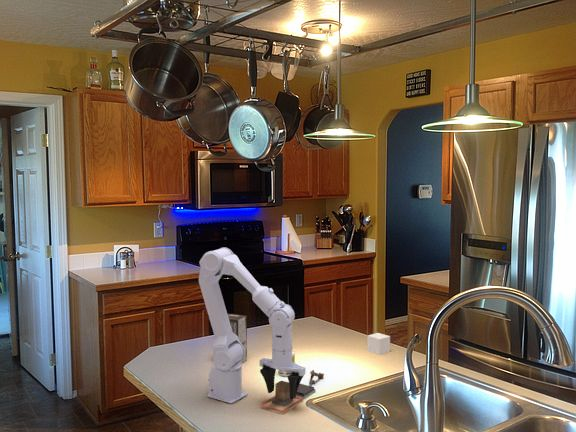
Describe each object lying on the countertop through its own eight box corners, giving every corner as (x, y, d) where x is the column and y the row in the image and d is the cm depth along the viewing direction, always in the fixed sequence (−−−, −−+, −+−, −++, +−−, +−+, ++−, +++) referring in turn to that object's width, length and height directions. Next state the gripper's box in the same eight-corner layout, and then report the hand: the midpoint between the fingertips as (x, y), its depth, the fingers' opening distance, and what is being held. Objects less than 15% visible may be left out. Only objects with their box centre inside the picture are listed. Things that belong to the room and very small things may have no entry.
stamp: (271, 403, 156) (271, 384, 155) (280, 397, 159) (280, 379, 159) (284, 406, 153) (284, 387, 153) (293, 401, 157) (293, 382, 156)
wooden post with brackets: (306, 383, 169) (308, 369, 171) (316, 386, 176) (319, 372, 177) (311, 384, 169) (314, 370, 170) (321, 387, 175) (324, 373, 176)
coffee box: (247, 360, 193) (247, 315, 192) (238, 365, 188) (238, 319, 186) (225, 356, 197) (225, 312, 196) (216, 361, 191) (216, 316, 190)
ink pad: (287, 394, 163) (287, 389, 163) (298, 387, 168) (298, 382, 168) (304, 399, 160) (304, 394, 160) (315, 391, 165) (315, 386, 165)
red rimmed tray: (259, 407, 154) (259, 404, 154) (280, 394, 163) (280, 392, 163) (283, 414, 149) (283, 411, 149) (303, 401, 158) (303, 398, 158)
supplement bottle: (296, 372, 182) (296, 343, 181) (292, 377, 177) (292, 348, 176) (280, 370, 183) (281, 341, 183) (276, 376, 178) (276, 346, 177)
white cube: (377, 348, 208) (377, 332, 208) (389, 351, 204) (390, 336, 203) (367, 351, 204) (367, 335, 204) (379, 355, 200) (379, 339, 199)
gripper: (311, 349, 154) (310, 395, 155) (269, 340, 162) (269, 385, 163) (298, 356, 148) (297, 404, 149) (255, 346, 156) (255, 392, 157)
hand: (281, 394), depth 156 cm, fingers open, 7 cm apart
